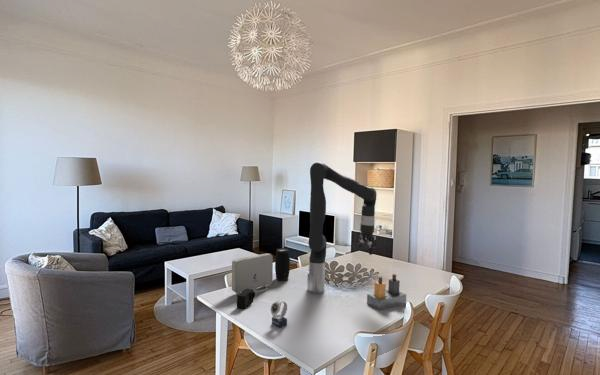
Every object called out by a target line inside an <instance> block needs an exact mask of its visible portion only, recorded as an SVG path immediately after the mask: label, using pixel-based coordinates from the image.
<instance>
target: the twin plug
mask: <svg viewBox="0 0 600 375" xmlns="http://www.w3.org/2000/svg"><path fill="white" fill-rule="evenodd" d="M387 290H388V293H390V294H392V295H398V294H399V291H400V280H399V279H397V274H396V273H395V274H394V273H393V274H392V278H391V279H388V289H387Z"/></svg>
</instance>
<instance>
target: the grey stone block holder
mask: <svg viewBox="0 0 600 375" xmlns="http://www.w3.org/2000/svg"><path fill="white" fill-rule="evenodd" d="M366 295H367V296H366V297H367V298H366V303H367V304H368V305H370V306H371V307H374V308H375V309H377V310H378V311H382V310H386V309H390V308H396V307H399V306H403V305H406V304H407V293H404V292H401V291H400V290H399V294H398V295H392V294H390V293H388V289H386V291H385V298H380V299H379V298H377V297H375V296H374V292H371V293H367V294H366Z"/></svg>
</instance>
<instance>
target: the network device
mask: <svg viewBox="0 0 600 375" xmlns="http://www.w3.org/2000/svg"><path fill="white" fill-rule="evenodd" d="M273 257H274V256H273V254H272V253H261V254H257V255H256V254H255V255H251V256H246V257H241V258H236V259H233V260H232V261H231V291H232V292H234V293H236V294H237V295H238V294H240V293H241V292H242V291H243V290H245V289H253V291H254V292H255V294H257V293H261V292H264V290H265V291H268V290H269V285H271V284H273V277H274V275H273V272H274V270H273V269H274V268H273V267H274V266H273V265H274V264H273V263H274V258H273ZM262 286H263V287H262ZM264 287H265V288H264ZM258 288H263V289H258ZM267 289H268V290H267Z"/></svg>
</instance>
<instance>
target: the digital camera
mask: <svg viewBox="0 0 600 375" xmlns="http://www.w3.org/2000/svg"><path fill="white" fill-rule="evenodd" d="M255 296H256V293H255V292H254V291H253V289H245V290H243V291H242V292H240V294H237V295H236V309H238V310H246V309H247V308H248V307H249V306H250V305H252V303H253V302H254V299H255Z"/></svg>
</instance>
